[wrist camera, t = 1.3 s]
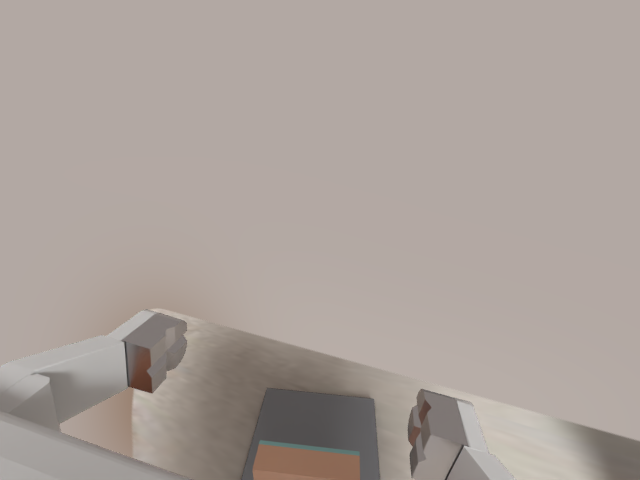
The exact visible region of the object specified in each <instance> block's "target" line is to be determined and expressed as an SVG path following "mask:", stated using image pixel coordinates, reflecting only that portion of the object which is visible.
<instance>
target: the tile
mask: <svg viewBox="0 0 640 480" xmlns="http://www.w3.org/2000/svg"><path fill="white" fill-rule="evenodd" d="M252 470H253V478H254V480H360V453H359V451H350V450H341V449H333V448H324V447H315V446H307V445H298V444H289V443H280V442H272V441H263V440H260V442H259V446H258V450H257V454H256V457H255V461H254V465H253V469H252Z"/></svg>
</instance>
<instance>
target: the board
mask: <svg viewBox="0 0 640 480" xmlns="http://www.w3.org/2000/svg"><path fill="white" fill-rule="evenodd" d="M260 440H263V441H272V442H280V443H289V444H298V445H307V446H315V447H324V448H333V449H341V450H350V451H359V453H360V480H380V474H379V461H378V447H377V433H376V419H375V406H374V399H371V398H362V397H352V396H342V395H332V394H323V393H313V392H303V391H293V390H283V389H274V388H267V390H266V394H265V397H264V401H263V404H262V408H261V411H260V415H259V419H258V422H257V426H256V429H255V433H254V436H253V440H252V443H251V447H250V450H249V454H248V458H247V461H246V465H245V468H244V472H243V475H242V479H241V480H254V478H253V470H252V469H253V465H254V461H255V457H256V454H257V450H258V446H259V442H260Z"/></svg>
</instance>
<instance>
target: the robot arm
mask: <svg viewBox="0 0 640 480" xmlns="http://www.w3.org/2000/svg"><path fill="white" fill-rule="evenodd" d="M186 331H187V323H186V322H185V321H183V320H180V319H177V318H174V317H171V316H168V315H164V314H161V313H157V312H154V311H151V310H148V309H146V310H142V311H140V312H139V313H138V314H136V315H135V316H134V317H132V318H131V319H129V320H128V321H126V322H125V323H124V324H122V325H121V326H119V327H118V328H117V329H115V330H114V331H113V332H111V333H110V334H108V335H107V336H103V335H101V336H97V337H94V338H90V339H87V340H83V341H80V342H76V343H73V344H69V345H66V346H63V347H59V348H55V349H52V350H48V351H45V352H41V353H38V354H34V355H31V356H27V357H24V358H20V359H17V360H13V361H10V362H7V363H5V364H4V365H2V366H0V480H192V479H190V478H187V477H184V476H181V475H178V474H176V473H173V472H170V471H167V470H164V469H162V468H159V467H156V466H153V465H150V464H148V463H145V462H142V461H139V460H137V459H134V458H131V457H128V456H125V455H123V454H119V453H117V452H114V451H111V450H109V449H106V448H103V447H100V446H98V445H95V444H92V443H89V442H86V441H84V440H81V439H78V438H75V437H72V436H70V435H67V434H64V433H61V429H60V423H62V422H64V421H66V420H68V419H70V418H71V417H74V416H75V415H77V414H79V413H81V412H83V411H85V410H87V409H89V408H91V407H92V406H95V405H97V404H98V403H100V402H102V401H104V400H106V399H108V398H110V397H112V396H114V395H116V394H118V393H120V392H122V391H123V390H125V389H127V388H128V387H132V388H135V389H138V390H142V391H145V392H148V393H153V392H154V391H155V390H156V389H157V388H158V387H159V386H160V384H161V383H162V382H163V381H164V380H165V379H166V374H167V371H169V370H172V369H174V368H176V366H177V365H178V364H179V363H180V362H181V360H182V358H183V356H184V354H185V351H186V347H187V340H186V339H185V337H184V336H183V334H184V333H185V332H186ZM416 398H417V406H415V407H413V408H412V410H411V413H410V417H409V423H408V440H409V442H410V443H411V445H412V447H413V448H412V450H411V453H410V465H411V477H412V478H413V479H416V480H516V479H515V478H514V477H513V475H512V474H511V473H510V472H509V471H508V470H507V469H506V467H505V466H504V465H503V464H502V463H501V462H500V461H499V459H498V458H497V457H496V456H495V455H493V454H490V453H489V451H488V448H487V445H486V442H485V439H484V436H483V433H482V430H481V427H480V424H479V421H478V418H477V415H476V412H475V409H474V406H473V404H472V403H471V402H468V401H465V400H461V399H457V398H452V397H449V396H446V395H442V394H438V393H435V392H431V391H428V390H424V389H421V390H420V391H419V392H418V395H417V397H416Z"/></svg>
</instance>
